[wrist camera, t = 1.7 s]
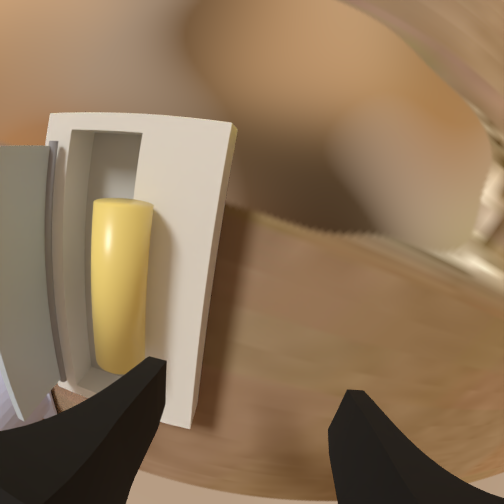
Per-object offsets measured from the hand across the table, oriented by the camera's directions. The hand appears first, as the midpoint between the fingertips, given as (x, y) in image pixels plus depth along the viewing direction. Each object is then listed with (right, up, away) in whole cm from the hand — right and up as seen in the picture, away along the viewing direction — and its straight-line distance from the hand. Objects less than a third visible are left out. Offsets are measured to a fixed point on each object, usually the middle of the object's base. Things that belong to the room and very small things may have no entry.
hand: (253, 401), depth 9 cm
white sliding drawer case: (-8, +3, +10) cm, 14 cm away
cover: (-12, +2, +4) cm, 13 cm away
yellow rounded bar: (-7, +3, +6) cm, 9 cm away
